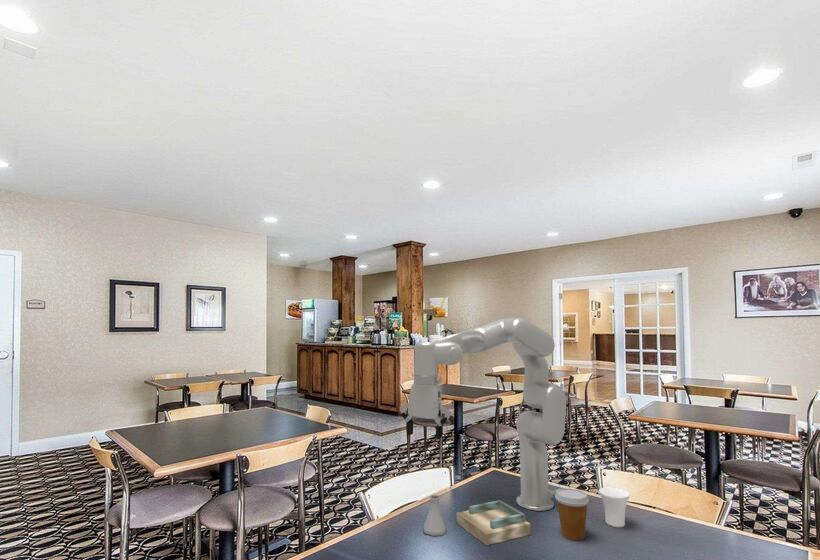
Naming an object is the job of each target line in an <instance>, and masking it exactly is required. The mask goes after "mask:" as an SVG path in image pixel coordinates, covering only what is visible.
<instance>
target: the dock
mask: <svg viewBox="0 0 820 560" xmlns="http://www.w3.org/2000/svg"><path fill="white" fill-rule="evenodd" d="M456 524H458V525H459V526H460V527H461V528H463V529H465V531H466V532H468V533H469V534H471V535H472V536H473V537H475V538H476V539H477V540H479V541H480V542H481V543H483V544H484V545H485V546H490V544H491V545H495V544H498V543H503V542H505V541H509V540H513V539H517V538H521V537H526V536H529V535H531V523H530V522H528V521H526V514H525V513H523V512H522V511H520V510H518V509H516V508H515V507H513V506H512V505H510V504H508V503H506V502H504V501H502V500H501V499H498V500H493V501H488V502H484V503H480V504H479V503H478V504H474V505H469V506H468V510H464V511H458V512H456ZM494 543H495V544H494Z"/></svg>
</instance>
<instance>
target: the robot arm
mask: <svg viewBox="0 0 820 560" xmlns="http://www.w3.org/2000/svg"><path fill="white" fill-rule="evenodd" d="M553 338H554V337H553V336H552V335H550V333H549V332H547V331H545V330H544V329H542V328H541V327H539V326H537V325H535V324H534V323H533V322H530V321H529V320H527V319H525V318H522V317H507V318H500V319H497V320H495V321H492V322H489V323H486V324H484V325H481V326H478V327H475V328H471V329H469V330H465V331H462V332H458V333H455V334H450V335H447V336H445V337H442V338H441V337H440V338H439V339H437V340H434V341H417V342H416V343H415V345H414V359H413V362H414V363H413V364H414V365H413V383H412V384H411V386H410V391H409V398H408V402H406V403H405V404H403V405H401V406H399V411H400V413H401V417H402V418H403V419H404V421H405V423H406V429H405V430H406V435H407V436H409V437H410V436H411V435H414V420H413V419H414V418H418V419H428V420H434V421H435V423H436V426H435V439H436V440H437V441H439V440H441V438H442V437H443V434H444V433H443V431H444V430H443V429H444V425H445V424H446V423H447V422H448V421H449V418H450V417H451V415H452V411H451V410H449V409H448V408H446V407H444V405H443V401H442V391H441V386H440V385H439V383H442V378H440V377H439V375H438V371H439V370H438V366H439V365H445V366H454V365H457V364H458V363H460V362H461V361H462V360H463V357H464V355H466V354H467V355H468V354H479V353H485V352H487V351H489V350H492V349H494V348H498V347H500V346H502V345H505V344H508V343H512V348H513V349H514V351H515V352H516V353H517V355H518V356H519V357H520V358H521V360H522V362H523V366H524V377H523V388H522V391H523V392H522V398H523V399H522V400H523V402H524V404H526V405H527V406H529V407H530V408H535V409H539V410H542V412H538V411H535V410H525V411H523V412H521V413H520V414H519V415H518V417H517V418H516V424H515V425H516V431H517V432H516V433H517V436H518V437H517V438H518V441H519V442H518V443H519V462H520V463H519V466H520V467H519V469H520V470H519V471H520V472H519V473H520V475H519V476H520V495H518V496H517V497H516V504H518V505H519V507H521V508H524V509H525V510H526V509H527V510H531V511H539V512H541V511H545V512H546V511H550V510H552V509H553V508H554V506H555V503H554V501H553V499H552V498H553V497H555V494H556V492H557V490H558V489H552V490H551V488H549V486H550V485H549V464H548V463H549V460H548V457H549V456H548V453H549V452H548V449H547V445H550V446H555V445H559V444H560V442H561V441H562V440H563V438H564V434H565V427H566V414H567V413H566V411H567V397H566V393H565V391H564V389H563V388H562V387H561V386H560V385H559V384H555V383H551V382H549V371H550V369H549V368H550V367H549V364H548V362H547V358H546V357H549V356H550V355H552V353H553V352H554V350H555V346H556V344H555V340H554V339H553ZM406 409H408V410H406ZM407 411H408V412H407ZM443 413H444V417H442V415H443Z"/></svg>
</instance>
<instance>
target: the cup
mask: <svg viewBox="0 0 820 560" xmlns="http://www.w3.org/2000/svg"><path fill="white" fill-rule="evenodd" d="M597 493H598V495H599V496H600V497H601V499H602V503H603V506H604V516H605V523H606V524H607V525H608V526H610V525H611V526H610V527H613V528H614V527H615V528H623V527H625V526H626V517H625V514H626V509H627V504H628V502H629V498H630V496H631V494H630V493H629V492H628V491H626V490H625V489H621V488H617V487H612V486H605V487H604V486H603V487H601V488H599V489H598V491H597Z"/></svg>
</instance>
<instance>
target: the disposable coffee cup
mask: <svg viewBox="0 0 820 560" xmlns="http://www.w3.org/2000/svg"><path fill="white" fill-rule="evenodd" d="M556 490H557V492H556V494H555V496H554V497H555V498H554V499H555V500H556V503H557V510H558V511H557V512H558V515H559V522H560V523H559V524H560V528H561V536H563V538H565V539H567V540H570V541H582V540H584V539H585V537H586V536H585V534H586V525H587V523H586V521H587V510H588V504H589V502H590V499H589V497H588V494H587V493H586V492H584V491H582V490H579V489H576V488H569V487H564V488H563V487H562V488H559V489H556Z"/></svg>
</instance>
